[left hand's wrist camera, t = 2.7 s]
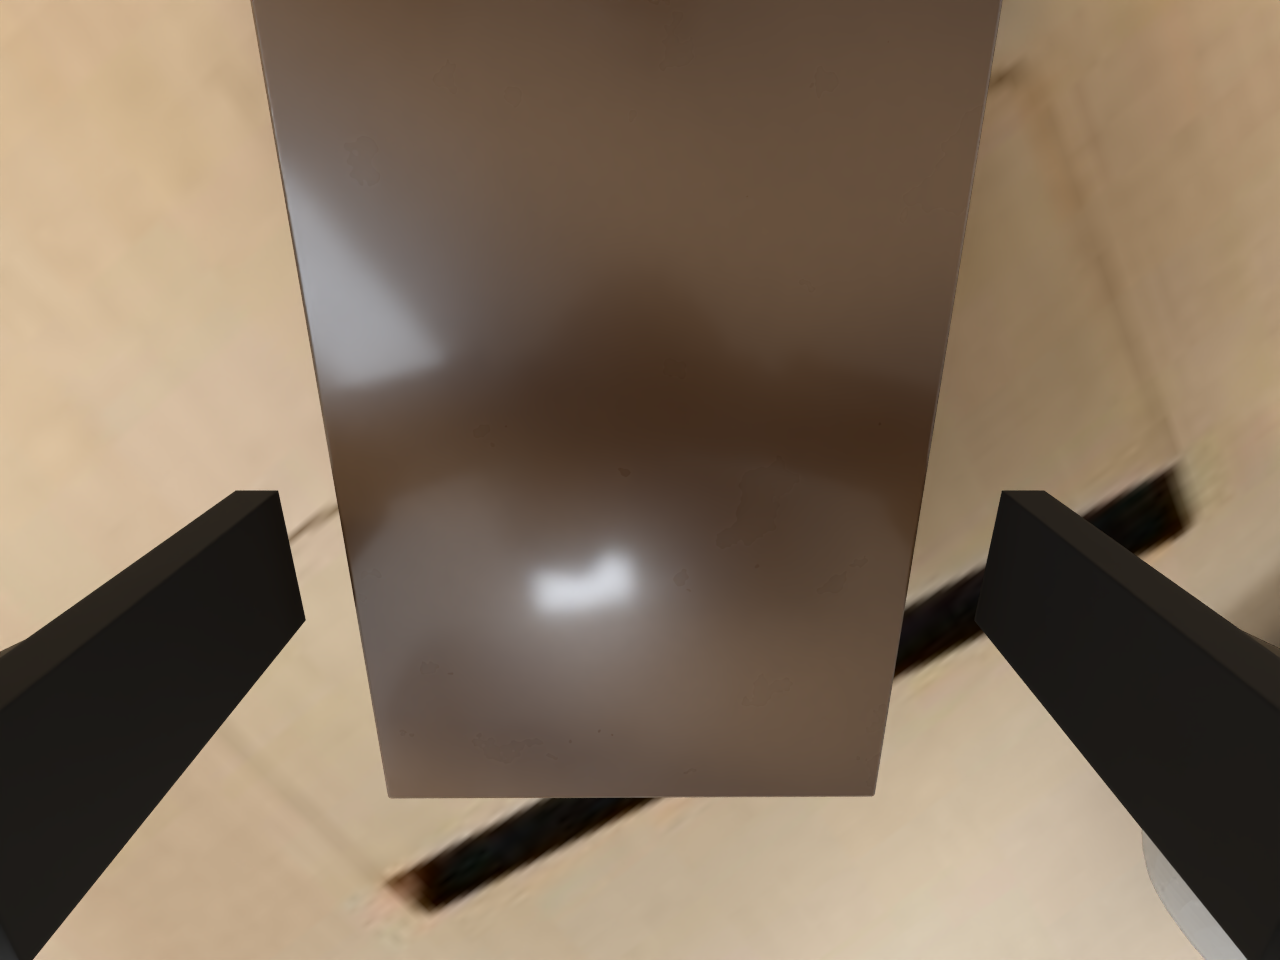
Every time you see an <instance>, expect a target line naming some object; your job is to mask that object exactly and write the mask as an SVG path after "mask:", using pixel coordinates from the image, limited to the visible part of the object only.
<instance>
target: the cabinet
mask: <svg viewBox="0 0 1280 960" xmlns="http://www.w3.org/2000/svg"><path fill="white" fill-rule="evenodd" d="M251 6H252V12H253V18H254V23H255V29H256V35H257V41H258V47H259V52H260V58H261V64H262V70H263V75H264V81H265V87H266V93H267V99H268V104H269V110H270V116H271V122H272V127H273V133H274V139H275V145H276V151H277V156H278V162H279V168H280V174H281V179H282V185H283V191H284V197H285V203H286V208H287V214H288V220H289V226H290V231H291V237H292V243H293V249H294V255H295V260H296V266H297V272H298V278H299V283H300V289H301V295H302V301H303V307H304V312H305V318H306V324H307V330H308V335H309V341H310V347H311V353H312V358H313V364H314V370H315V376H316V382H317V387H318V393H319V399H320V405H321V410H322V416H323V422H324V428H325V434H326V439H327V445H328V451H329V457H330V462H331V468H332V474H333V480H334V486H335V491H336V497H337V503H338V509H339V514H340V520H341V526H342V532H343V538H344V543H345V549H346V555H347V561H348V566H349V572H350V578H351V584H352V590H353V595H354V601H355V607H356V613H357V618H358V624H359V630H360V636H361V642H362V647H363V653H364V659H365V665H366V670H367V676H368V682H369V688H370V694H371V699H372V705H373V711H374V717H375V722H376V728H377V734H378V740H379V745H380V751H381V757H382V763H383V769H384V774H385V780H386V786H387V792H388V796H389V798H605V797H867V796H874V794H875V788H876V782H877V776H878V770H879V764H880V757H881V751H882V745H883V739H884V732H885V726H886V720H887V714H888V708H889V701H890V695H891V689H892V683H893V677H894V670H895V664H896V658H897V652H898V646H899V639H900V633H901V627H902V621H903V615H904V608H905V602H906V596H907V590H908V583H909V577H910V571H911V565H912V559H913V552H914V546H915V540H916V534H917V528H918V521H919V515H920V509H921V503H922V497H923V490H924V484H925V478H926V472H927V465H928V459H929V453H930V447H931V441H932V434H933V428H934V422H935V416H936V410H937V403H938V397H939V391H940V385H941V379H942V372H943V366H944V360H945V354H946V348H947V341H948V335H949V329H950V323H951V316H952V310H953V304H954V298H955V292H956V285H957V279H958V273H959V267H960V261H961V254H962V248H963V242H964V236H965V230H966V223H967V217H968V211H969V205H970V198H971V192H972V186H973V180H974V174H975V167H976V161H977V155H978V149H979V143H980V136H981V130H982V124H983V118H984V112H985V105H986V99H987V93H988V87H989V81H990V74H991V68H992V62H993V56H994V49H995V43H996V37H997V31H998V25H999V18H1000V12H1001V6H1002V0H251Z"/></svg>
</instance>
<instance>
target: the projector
mask: <svg viewBox="0 0 1280 960" xmlns="http://www.w3.org/2000/svg"><path fill="white" fill-rule="evenodd" d="M1142 844H1143V852H1144V857H1145V862H1146V867H1147V870H1148V873H1149V877H1150V879H1151V881H1152V884H1153V886H1154V888H1155V890H1156V892H1157V894H1158V896H1159V897H1160V899H1161V901H1162V903H1163V904H1164V906H1165V908H1166V909H1167V911H1168V912H1169V914H1170V915H1171V917H1172V918H1173V919H1174V921H1175V922H1176V924H1177V925H1178V926H1179V928H1180V929H1181V931H1182V932H1183V933H1184V935H1185V936H1186V937H1187V939H1188V940H1189V941H1190V943H1191V944H1192V945H1193V946H1194V947H1195V949H1196V950H1197V951H1198V952H1199V953H1200V954H1201V955H1202V957H1203V958H1204V959H1205V960H1247V959H1246V958H1245V956H1244V955H1243V954H1242V953H1241V951H1240V950H1239V949H1238V948H1237V946H1236V945H1235V944H1234V943H1233V941H1232V940H1231V939H1230V938H1229V936H1228V935H1227V934H1226V933H1225V931H1224V930H1223V929H1222V928H1221V926H1220V925H1219V924H1218V923H1217V921H1216V920H1215V919H1214V918H1213V917H1212V915H1211V914H1210V913H1209V912H1208V910H1207V909H1206V908H1205V907H1204V905H1203V904H1202V903H1201V902H1200V900H1199V899H1198V898H1197V897H1196V895H1195V894H1194V893H1193V892H1192V890H1191V889H1190V888H1189V887H1188V885H1187V884H1186V883H1185V882H1184V880H1183V879H1182V878H1181V877H1180V875H1179V874H1178V873H1177V872H1176V870H1175V869H1174V868H1173V867H1172V865H1171V864H1170V863H1169V862H1168V861H1167V859H1166V858H1165V857H1164V856H1163V854H1162V853H1161V852H1160V851H1159V849H1158V848H1157V847H1156V846H1155V844H1154V843H1153V842H1152V841H1151V839H1150V838H1149V837H1148V836H1147V834H1146V833H1145V832H1144V831H1143V829H1142Z"/></svg>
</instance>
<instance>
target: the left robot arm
mask: <svg viewBox="0 0 1280 960" xmlns="http://www.w3.org/2000/svg"><path fill="white" fill-rule="evenodd" d="M305 620H306V619H305V615H304V610H303V605H302V601H301V596H300V591H299V586H298V582H297V577H296V572H295V568H294V563H293V558H292V554H291V549H290V544H289V540H288V535H287V530H286V526H285V521H284V516H283V511H282V507H281V502H280V497H279V493H278V491H235V492H233V493H232V494H230V495H229V496H228V497H226V498H225V499H223V500H222V501H220V502H219V503H218V504H216V505H215V506H213V507H212V508H211V509H209V510H208V511H206V512H205V513H204V514H202V515H201V516H199V517H198V518H196V519H195V520H194V521H192V522H191V523H189V524H188V525H187V526H185V527H184V528H182V529H181V530H180V531H178V532H177V533H175V534H174V535H172V536H171V537H170V538H168V539H167V540H165V541H164V542H163V543H161V544H160V545H158V546H157V547H156V548H154V549H153V550H151V551H150V552H149V553H147V554H146V555H144V556H143V557H141V558H140V559H139V560H137V561H136V562H134V563H133V564H132V565H130V566H129V567H127V568H126V569H125V570H123V571H122V572H120V573H119V574H117V575H116V576H115V577H113V578H112V579H110V580H109V581H108V582H106V583H105V584H103V585H102V586H101V587H99V588H98V589H96V590H95V591H93V592H92V593H91V594H89V595H88V596H86V597H85V598H84V599H82V600H81V601H79V602H78V603H77V604H75V605H74V606H72V607H71V608H70V609H68V610H67V611H65V612H64V613H62V614H61V615H60V616H58V617H57V618H55V619H54V620H53V621H51V622H50V623H48V624H47V625H46V626H44V627H43V628H41V629H40V630H38V631H37V632H36V633H34V634H33V635H31V636H30V637H29V638H27V639H26V640H24V641H21V642H19V643H17V644H15V645H13V646H11V647H9V648H7V649H5V650H3V651H1V652H0V960H33V959H34V958H35V956H36V955H37V954H38V953H39V951H40V950H41V949H42V948H43V946H44V945H45V944H46V943H47V941H48V940H49V939H50V938H51V936H52V935H53V934H54V933H55V931H56V930H57V929H58V928H59V926H60V925H61V924H62V923H63V921H64V920H65V919H66V918H67V917H68V915H69V914H70V913H71V912H72V910H73V909H74V908H75V907H76V905H77V904H78V903H79V902H80V900H81V899H82V898H83V897H84V895H85V894H86V893H87V892H88V890H89V889H90V888H91V887H92V885H93V884H94V883H95V882H96V880H97V879H98V878H99V877H100V875H101V874H102V873H103V872H104V870H105V869H106V868H107V867H108V865H109V864H110V863H111V862H112V861H113V859H114V858H115V857H116V856H117V854H118V853H119V852H120V851H121V849H122V848H123V847H124V846H125V844H126V843H127V842H128V841H129V839H130V838H131V837H132V836H133V834H134V833H135V832H136V831H137V829H138V828H139V827H140V826H141V824H142V823H143V822H144V821H145V819H146V818H147V817H148V816H149V814H150V813H151V812H152V811H153V809H154V808H155V807H156V806H157V805H158V803H159V802H160V801H161V800H162V798H163V797H164V796H165V795H166V793H167V792H168V791H169V790H170V788H171V787H172V786H173V785H174V783H175V782H176V781H177V780H178V778H179V777H180V776H181V775H182V773H183V772H184V771H185V770H186V768H187V767H188V766H189V765H190V763H191V762H192V761H193V760H194V758H195V757H196V756H197V755H198V753H199V752H200V751H201V750H202V749H203V747H204V746H205V745H206V744H207V742H208V741H209V740H210V739H211V737H212V736H213V735H214V734H215V732H216V731H217V730H218V729H219V727H220V726H221V725H222V724H223V722H224V721H225V720H226V719H227V717H228V716H229V715H230V714H231V712H232V711H233V710H234V709H235V707H236V706H237V705H238V704H239V702H240V701H241V700H242V699H243V697H244V696H245V695H246V694H247V693H248V691H249V690H250V689H251V688H252V686H253V685H254V684H255V683H256V681H257V680H258V679H259V678H260V676H261V675H262V674H263V673H264V671H265V670H266V669H267V668H268V666H269V665H270V664H271V663H272V661H273V660H274V659H275V658H276V656H277V655H278V654H279V653H280V651H281V650H282V649H283V648H284V646H285V645H286V644H287V643H288V642H289V640H290V639H291V638H292V637H293V635H294V634H295V633H296V632H297V630H298V629H299V628H300V627H301V625H302V624H303V623H304V622H305ZM974 620H975V622H976V623H977V624H978V625H979V627H980V628H981V629H982V630H983V632H984V633H985V634H986V635H987V637H988V638H989V639H990V640H991V642H992V643H993V644H994V645H995V646H996V648H997V649H998V650H999V651H1000V653H1001V654H1002V655H1003V656H1004V658H1005V659H1006V660H1007V661H1008V663H1009V664H1010V665H1011V666H1012V668H1013V669H1014V670H1015V671H1016V673H1017V674H1018V675H1019V676H1020V678H1021V679H1022V680H1023V681H1024V683H1025V684H1026V685H1027V686H1028V688H1029V689H1030V690H1031V691H1032V693H1033V694H1034V695H1035V696H1036V698H1037V699H1038V700H1039V701H1040V702H1041V704H1042V705H1043V706H1044V707H1045V709H1046V710H1047V711H1048V712H1049V714H1050V715H1051V716H1052V717H1053V719H1054V720H1055V721H1056V722H1057V724H1058V725H1059V726H1060V727H1061V729H1062V730H1063V731H1064V732H1065V734H1066V735H1067V736H1068V737H1069V739H1070V740H1071V741H1072V742H1073V744H1074V745H1075V746H1076V747H1077V749H1078V750H1079V751H1080V752H1081V753H1082V755H1083V756H1084V757H1085V758H1086V760H1087V761H1088V762H1089V763H1090V765H1091V766H1092V767H1093V768H1094V770H1095V771H1096V772H1097V773H1098V775H1099V776H1100V777H1101V778H1102V780H1103V781H1104V782H1105V783H1106V785H1107V786H1108V787H1109V788H1110V790H1111V791H1112V792H1113V793H1114V795H1115V796H1116V797H1117V798H1118V800H1119V801H1120V802H1121V803H1122V805H1123V806H1124V807H1125V808H1126V809H1127V811H1128V812H1129V813H1130V814H1131V816H1132V817H1133V818H1134V819H1135V821H1136V822H1137V823H1138V824H1139V826H1140V827H1141V828H1142V829H1143V831H1144V832H1145V833H1146V834H1147V836H1148V837H1149V838H1150V839H1151V841H1152V842H1153V843H1154V844H1155V846H1156V847H1157V848H1158V849H1159V851H1160V852H1161V853H1162V854H1163V856H1164V857H1165V858H1166V859H1167V861H1168V862H1169V863H1170V864H1171V865H1172V867H1173V868H1174V869H1175V870H1176V872H1177V873H1178V874H1179V875H1180V877H1181V878H1182V879H1183V880H1184V882H1185V883H1186V884H1187V885H1188V887H1189V888H1190V889H1191V890H1192V892H1193V893H1194V894H1195V895H1196V897H1197V898H1198V899H1199V900H1200V902H1201V903H1202V904H1203V905H1204V907H1205V908H1206V909H1207V910H1208V912H1209V913H1210V914H1211V915H1212V917H1213V918H1214V919H1215V920H1216V921H1217V923H1218V924H1219V925H1220V926H1221V928H1222V929H1223V930H1224V931H1225V933H1226V934H1227V935H1228V936H1229V938H1230V939H1231V940H1232V941H1233V943H1234V944H1235V945H1236V946H1237V948H1238V949H1239V950H1240V951H1241V953H1242V954H1243V955H1244V956H1245V958H1246V959H1247V960H1280V648H1278V647H1275V646H1273V645H1271V644H1269V643H1267V642H1265V641H1263V640H1261V639H1259V638H1256V637H1254V636H1252V635H1250V634H1248V633H1246V632H1244V631H1242V630H1240V629H1239V628H1237V627H1236V626H1234V625H1233V624H1232V623H1230V622H1229V621H1227V620H1226V619H1225V618H1223V617H1222V616H1220V615H1219V614H1218V613H1216V612H1215V611H1213V610H1212V609H1210V608H1209V607H1208V606H1206V605H1205V604H1203V603H1202V602H1201V601H1199V600H1198V599H1196V598H1195V597H1194V596H1192V595H1191V594H1189V593H1188V592H1187V591H1185V590H1184V589H1182V588H1181V587H1179V586H1178V585H1177V584H1175V583H1174V582H1172V581H1171V580H1170V579H1168V578H1167V577H1165V576H1164V575H1163V574H1161V573H1160V572H1158V571H1157V570H1155V569H1154V568H1153V567H1151V566H1150V565H1148V564H1147V563H1146V562H1144V561H1143V560H1141V559H1140V558H1139V557H1137V556H1136V555H1134V554H1133V553H1131V552H1130V551H1129V550H1127V549H1126V548H1124V547H1123V546H1122V545H1120V544H1119V543H1117V542H1116V541H1115V540H1113V539H1112V538H1110V537H1109V536H1108V535H1106V534H1105V533H1103V532H1102V531H1100V530H1099V529H1098V528H1096V527H1095V526H1093V525H1092V524H1091V523H1089V522H1088V521H1086V520H1085V519H1084V518H1082V517H1081V516H1079V515H1078V514H1076V513H1075V512H1074V511H1072V510H1071V509H1069V508H1068V507H1067V506H1065V505H1064V504H1062V503H1061V502H1060V501H1058V500H1057V499H1055V498H1054V497H1052V496H1051V495H1050V494H1048V493H1047V492H1045V491H1002V493H1001V497H1000V502H999V507H998V511H997V516H996V521H995V526H994V530H993V535H992V540H991V544H990V549H989V554H988V558H987V563H986V568H985V572H984V577H983V582H982V586H981V591H980V596H979V601H978V605H977V610H976V615H975V619H974Z"/></svg>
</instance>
